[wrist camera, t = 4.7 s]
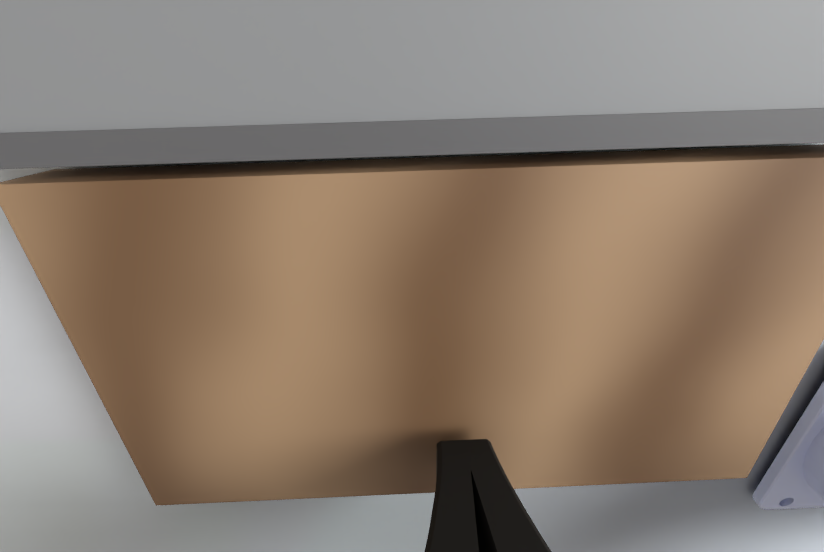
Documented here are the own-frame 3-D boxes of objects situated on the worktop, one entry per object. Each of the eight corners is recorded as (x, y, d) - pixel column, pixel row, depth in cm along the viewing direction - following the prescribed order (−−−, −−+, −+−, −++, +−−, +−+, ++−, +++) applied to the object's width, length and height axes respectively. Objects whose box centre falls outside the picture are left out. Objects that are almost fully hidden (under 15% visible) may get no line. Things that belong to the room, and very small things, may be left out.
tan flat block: (845, 143, 9) (926, 154, 7) (711, 437, 13) (746, 478, 12) (55, 169, 8) (-11, 184, 7) (181, 461, 13) (155, 505, 11)
